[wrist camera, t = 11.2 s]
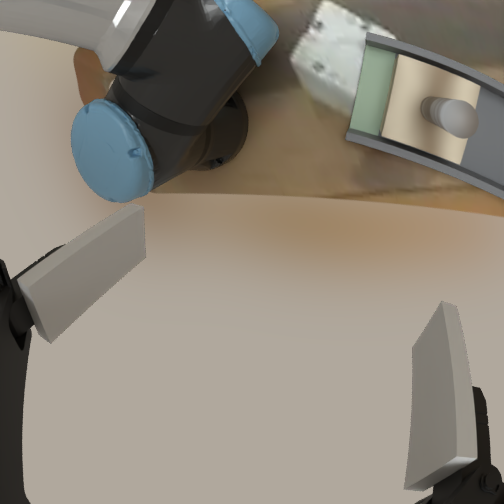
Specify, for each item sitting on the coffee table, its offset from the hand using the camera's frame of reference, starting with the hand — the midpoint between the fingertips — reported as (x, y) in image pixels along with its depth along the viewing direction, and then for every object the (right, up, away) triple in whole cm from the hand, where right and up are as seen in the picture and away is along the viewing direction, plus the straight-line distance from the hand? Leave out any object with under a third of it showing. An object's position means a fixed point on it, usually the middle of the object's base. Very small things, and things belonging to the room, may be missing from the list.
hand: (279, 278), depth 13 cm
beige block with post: (+21, +20, +21) cm, 36 cm away
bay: (+27, +19, +20) cm, 39 cm away
